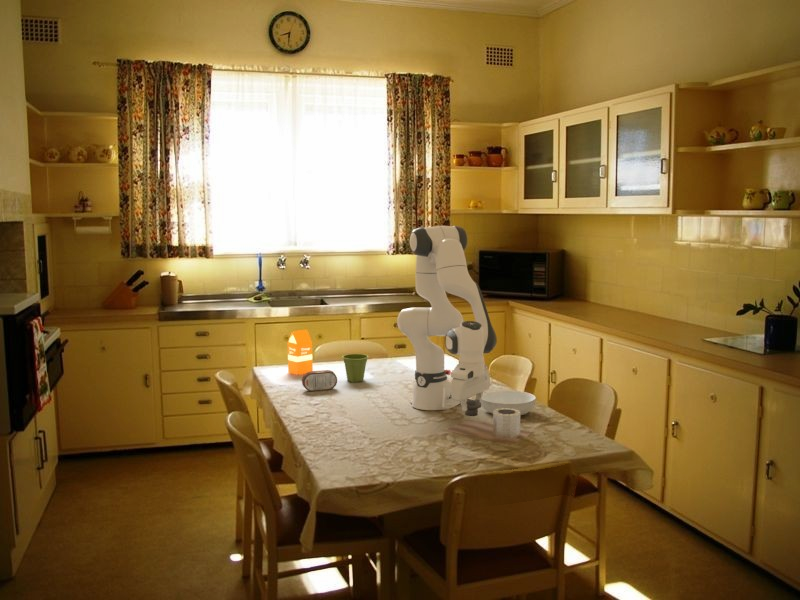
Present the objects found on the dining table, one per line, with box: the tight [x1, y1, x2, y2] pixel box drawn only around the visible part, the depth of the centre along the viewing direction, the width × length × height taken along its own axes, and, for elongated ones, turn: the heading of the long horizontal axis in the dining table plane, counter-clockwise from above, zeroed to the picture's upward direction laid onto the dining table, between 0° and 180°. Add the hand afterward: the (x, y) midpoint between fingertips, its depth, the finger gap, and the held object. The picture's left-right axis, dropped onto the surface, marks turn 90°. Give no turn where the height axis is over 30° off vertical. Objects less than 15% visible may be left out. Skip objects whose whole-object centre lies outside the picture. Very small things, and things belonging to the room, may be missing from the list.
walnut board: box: [444, 419, 534, 445], centre depth 257 cm, size 16×26×2 cm, turn 52°
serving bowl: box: [481, 389, 537, 416], centre depth 283 cm, size 21×21×7 cm
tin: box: [301, 369, 338, 392], centre depth 321 cm, size 15×3×8 cm, turn 108°
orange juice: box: [287, 329, 314, 375], centre depth 356 cm, size 8×9×20 cm
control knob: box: [464, 398, 482, 417], centre depth 261 cm, size 7×7×5 cm
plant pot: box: [341, 353, 370, 383], centre depth 338 cm, size 12×12×11 cm
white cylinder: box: [492, 408, 521, 439], centre depth 252 cm, size 9×9×8 cm
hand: (471, 407), depth 261 cm, fingers closed on control knob, 7 cm apart
